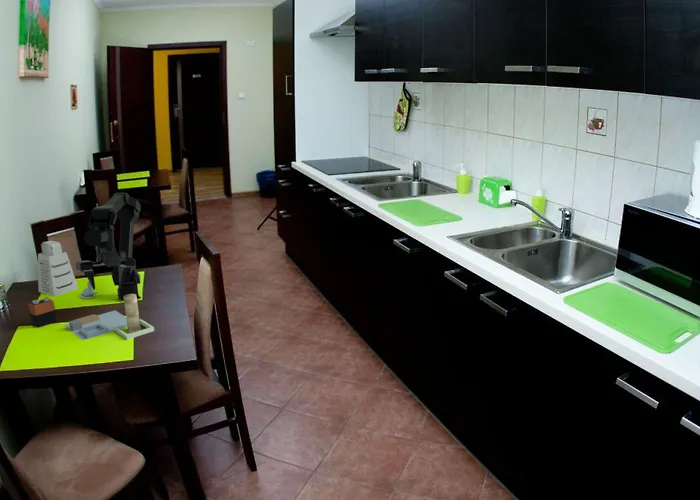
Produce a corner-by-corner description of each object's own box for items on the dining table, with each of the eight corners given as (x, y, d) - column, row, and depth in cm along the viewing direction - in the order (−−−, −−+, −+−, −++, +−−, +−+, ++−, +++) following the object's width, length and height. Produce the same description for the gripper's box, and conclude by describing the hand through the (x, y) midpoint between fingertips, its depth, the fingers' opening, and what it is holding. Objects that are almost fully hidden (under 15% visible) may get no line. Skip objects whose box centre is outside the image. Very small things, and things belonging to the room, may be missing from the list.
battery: (32, 327, 201) (27, 300, 198) (52, 321, 206) (48, 295, 203) (37, 331, 198) (33, 303, 196) (58, 324, 203) (53, 298, 200)
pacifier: (85, 301, 225) (100, 296, 229) (82, 286, 223) (97, 281, 227) (77, 296, 229) (91, 292, 234) (74, 282, 227) (89, 277, 232)
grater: (54, 296, 229) (45, 247, 223) (38, 291, 235) (30, 243, 229) (78, 288, 238) (70, 241, 232) (62, 283, 243) (55, 237, 237)
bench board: (115, 313, 212) (114, 303, 211) (136, 327, 201) (135, 317, 200) (64, 328, 200) (62, 318, 199) (83, 343, 189) (81, 333, 188)
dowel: (134, 329, 198) (129, 293, 194) (143, 330, 196) (138, 294, 193) (125, 333, 194) (120, 297, 191) (135, 335, 193) (130, 298, 189)
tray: (141, 325, 202) (141, 319, 201) (154, 333, 195) (153, 327, 195) (115, 334, 196) (114, 327, 195) (127, 342, 189) (126, 335, 188)
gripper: (84, 247, 191) (87, 294, 193) (140, 243, 203) (142, 287, 205) (74, 245, 200) (76, 290, 201) (128, 241, 212) (130, 284, 213)
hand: (107, 288), depth 205 cm, fingers open, 9 cm apart
